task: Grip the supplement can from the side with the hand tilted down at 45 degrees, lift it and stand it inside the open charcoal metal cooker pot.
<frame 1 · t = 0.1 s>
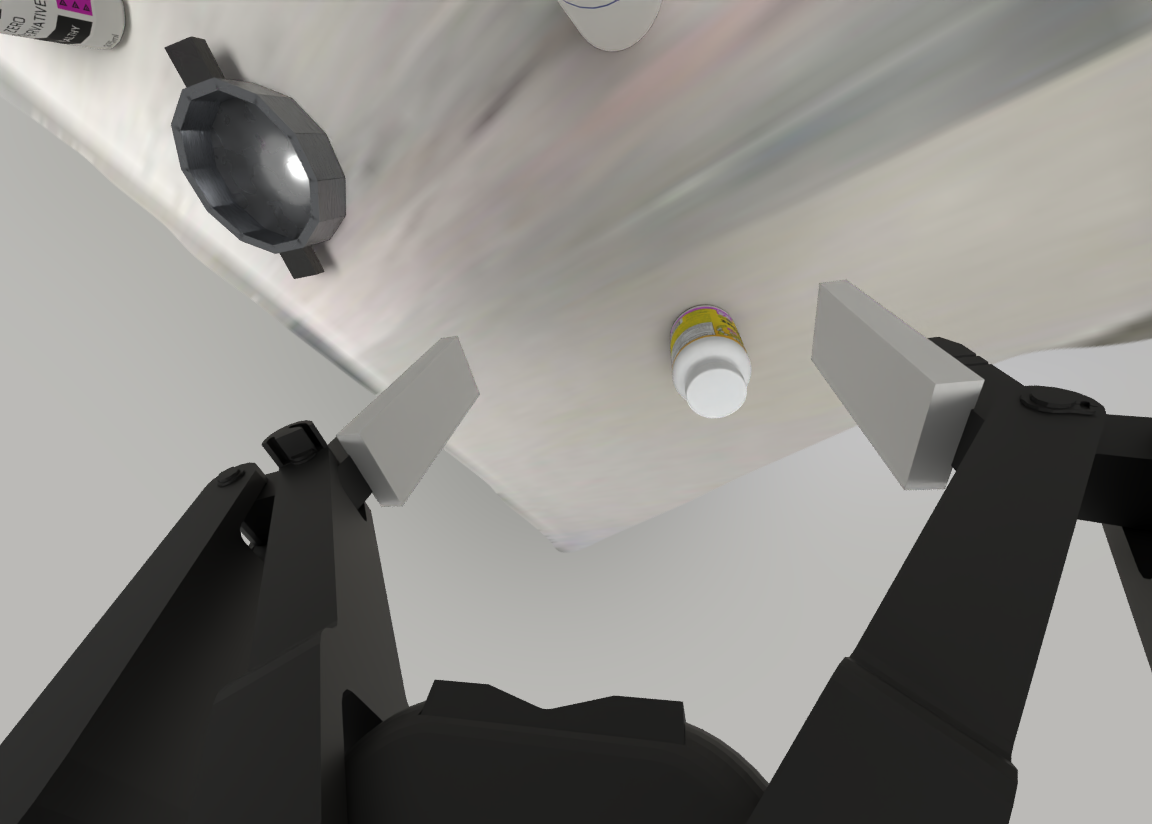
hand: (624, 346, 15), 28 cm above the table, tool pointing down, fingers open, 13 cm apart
cooker pot: (280, 172, 41), on the table
supplement bottle: (701, 332, 43), on the table
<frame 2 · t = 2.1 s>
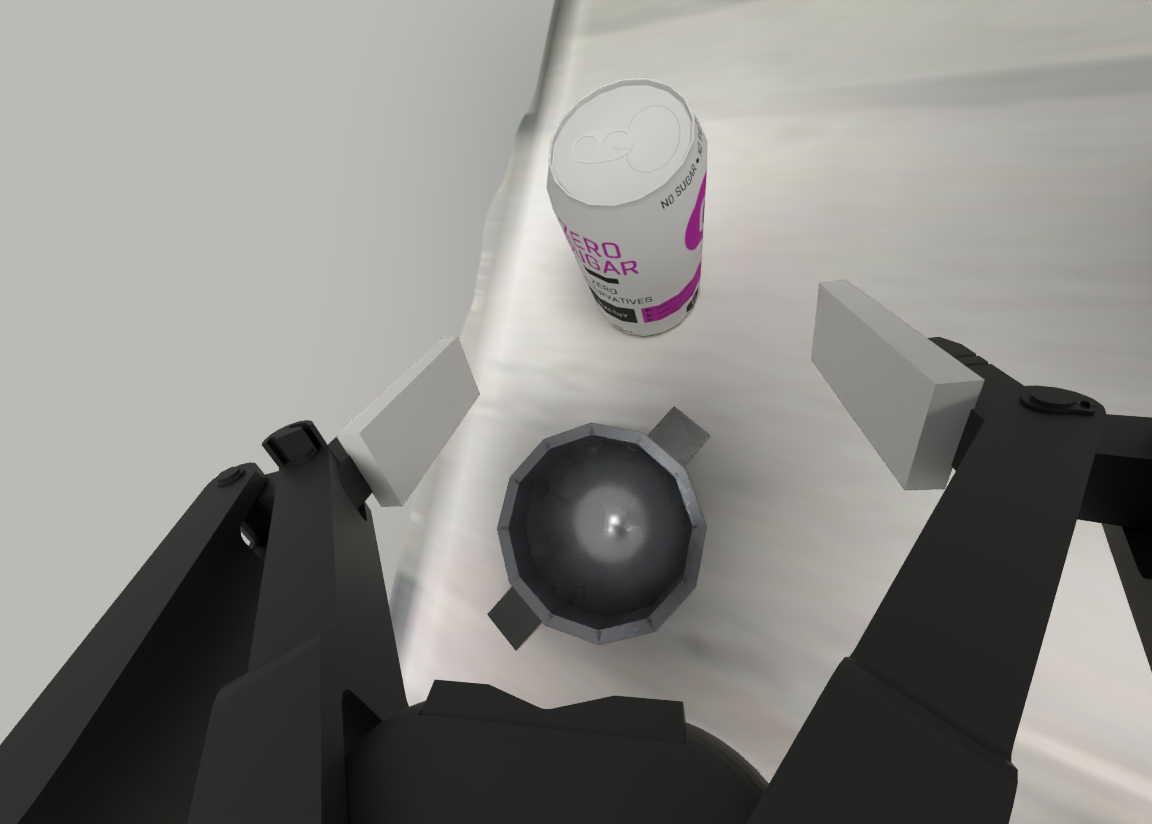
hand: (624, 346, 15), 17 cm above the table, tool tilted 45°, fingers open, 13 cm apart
cooker pot: (606, 523, 30), on the table
supplement can: (647, 293, 33), on the table
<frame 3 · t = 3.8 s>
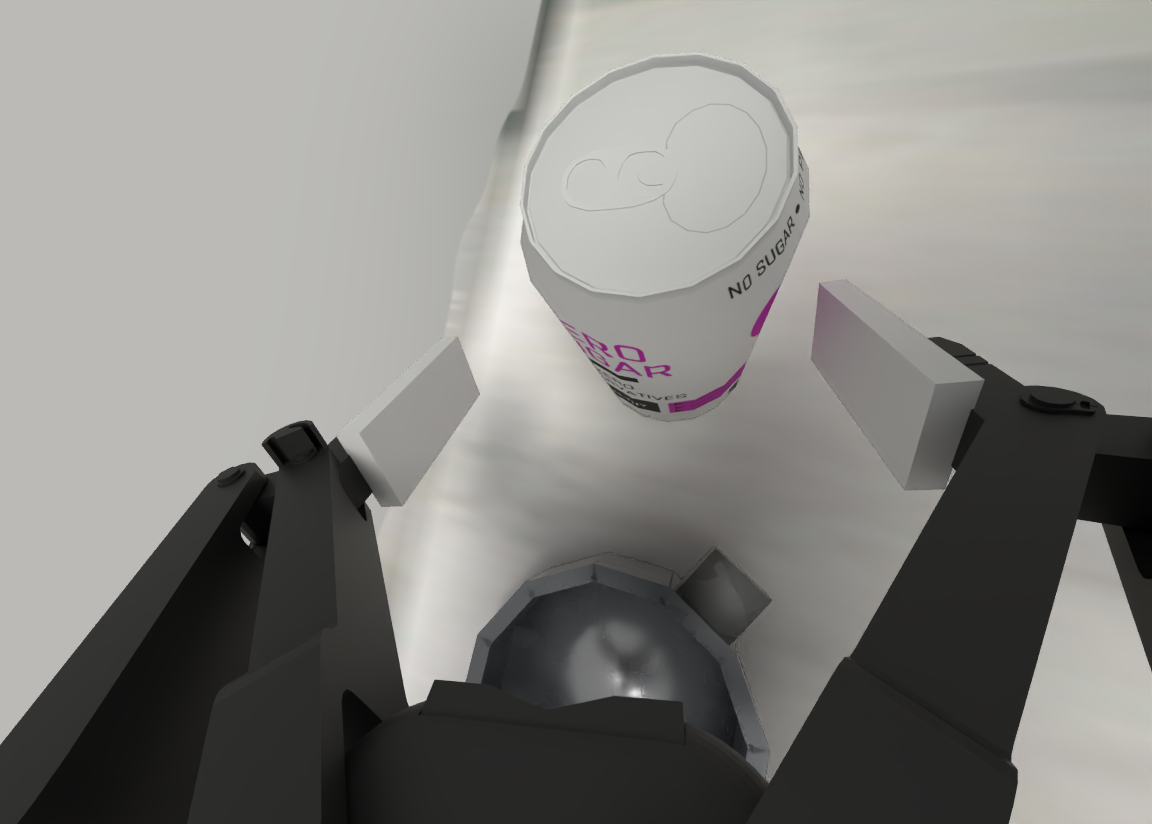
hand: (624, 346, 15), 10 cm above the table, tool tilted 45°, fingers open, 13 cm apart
cooker pot: (614, 688, 22), on the table
supplement can: (671, 357, 25), on the table
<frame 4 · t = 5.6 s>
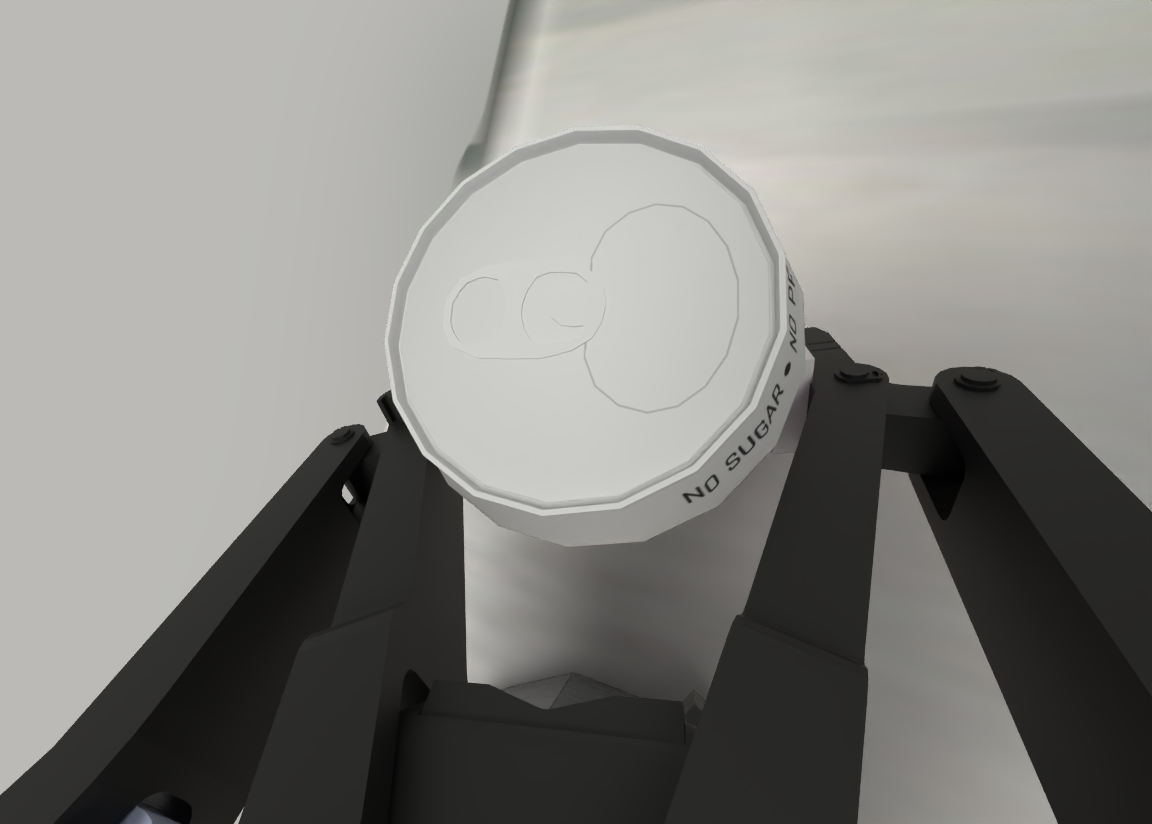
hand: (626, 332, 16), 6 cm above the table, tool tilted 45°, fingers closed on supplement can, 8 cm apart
supplement can: (645, 434, 21), on the table, touching gripper
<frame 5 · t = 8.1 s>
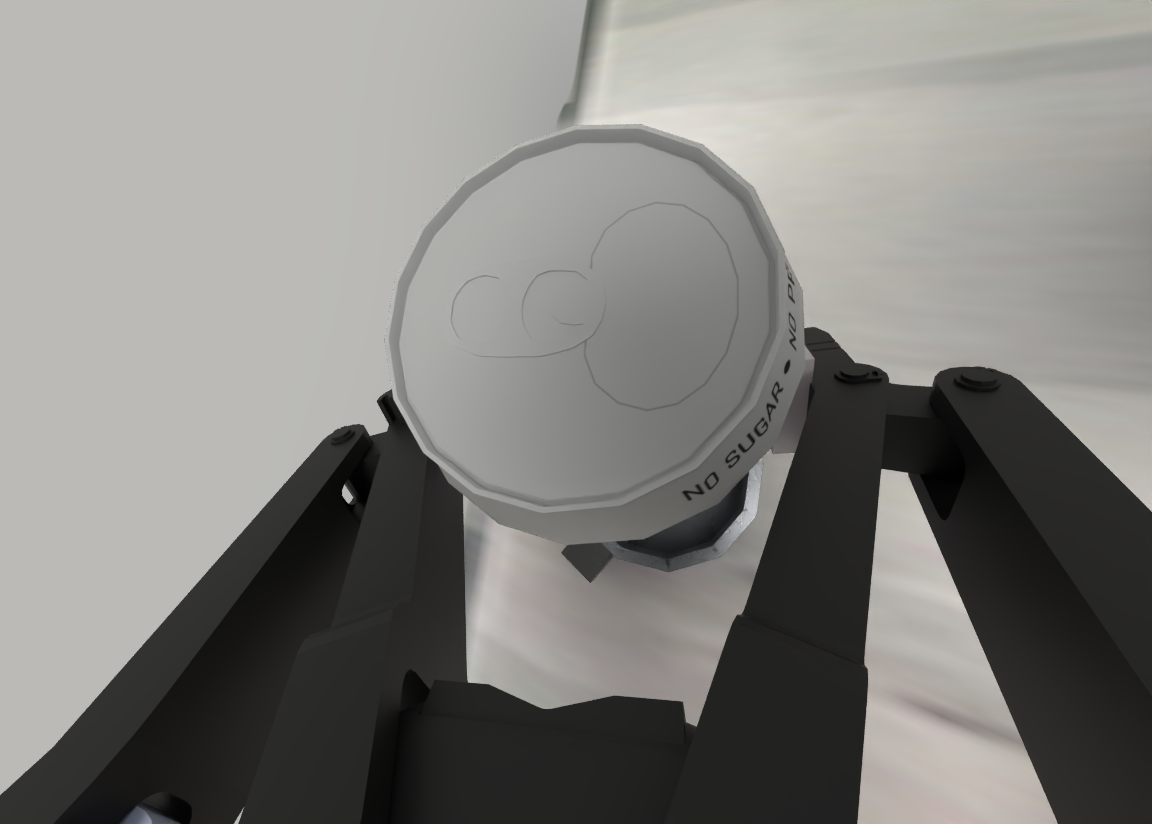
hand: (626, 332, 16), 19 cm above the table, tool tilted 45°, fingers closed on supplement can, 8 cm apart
cooker pot: (662, 472, 33), on the table
supplement can: (645, 434, 21), point 13 cm above the table, touching gripper
when the fingers open (8 cm above the table, at t = 10.7 s): supplement can drops 1 cm, resting on cooker pot.
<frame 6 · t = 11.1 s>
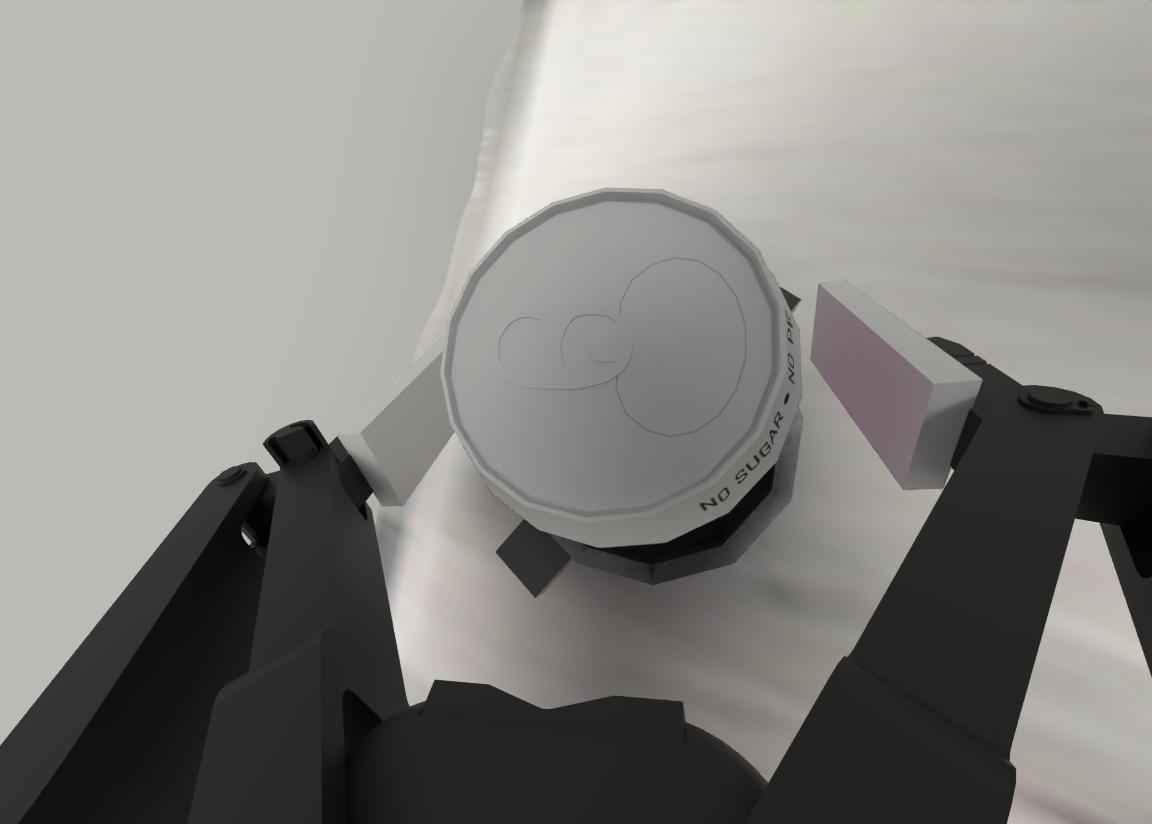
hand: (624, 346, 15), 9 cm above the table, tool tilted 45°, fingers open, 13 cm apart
cooker pot: (649, 440, 23), on the table
supplement can: (652, 439, 22), point 1 cm above the table, touching cooker pot
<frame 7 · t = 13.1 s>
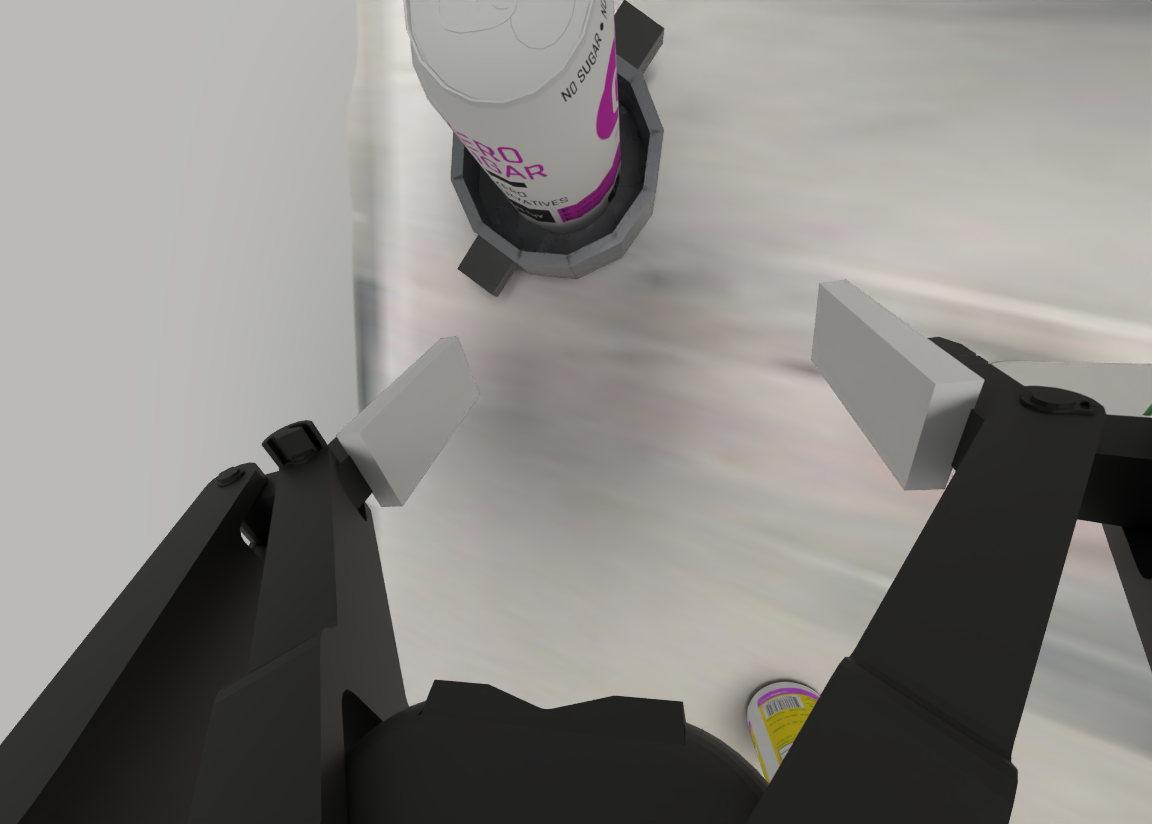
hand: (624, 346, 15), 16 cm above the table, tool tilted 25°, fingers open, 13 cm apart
cylindrical container: (1000, 411, 29), on the table
cooker pot: (562, 181, 30), on the table
supplement bottle: (785, 710, 34), on the table
supplement can: (564, 177, 29), point 1 cm above the table, touching cooker pot
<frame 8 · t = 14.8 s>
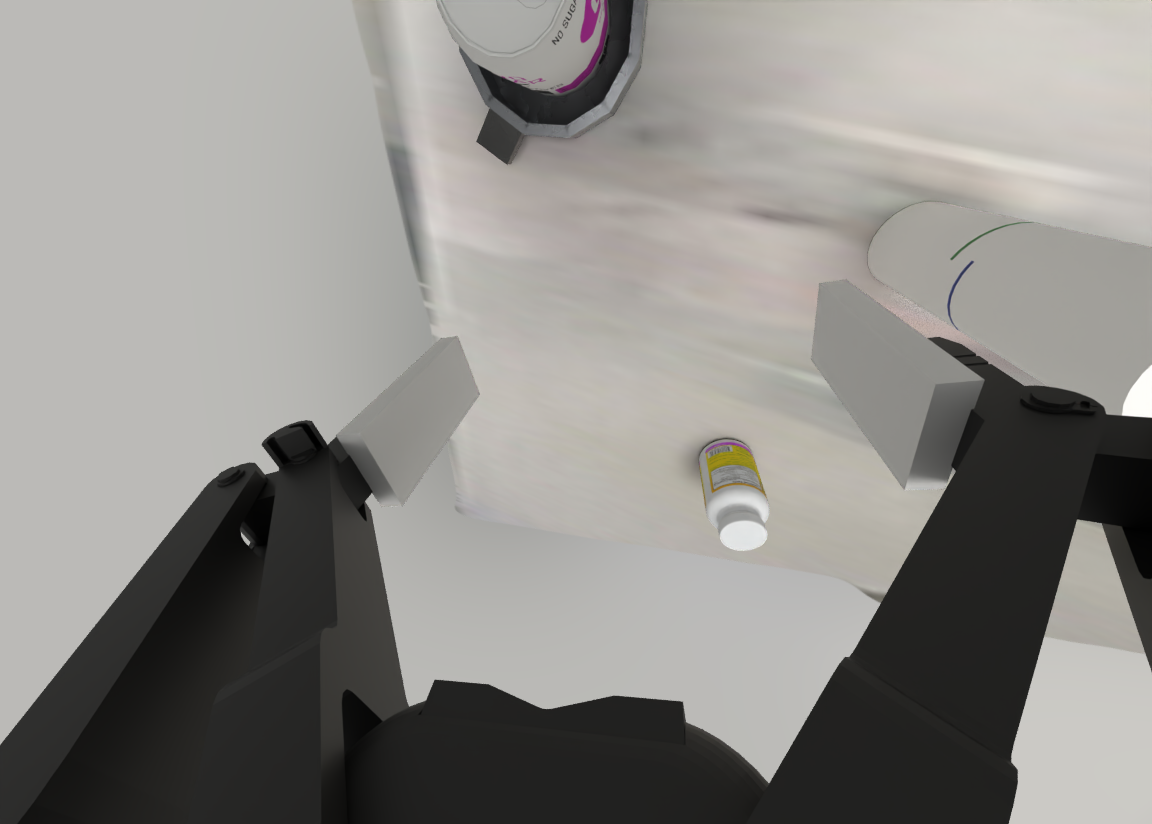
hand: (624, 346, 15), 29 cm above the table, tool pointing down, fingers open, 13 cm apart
cylindrical container: (912, 245, 36), on the table
cooker pot: (558, 33, 32), on the table
supplement bottle: (724, 456, 53), on the table
supplement can: (559, 31, 32), point 1 cm above the table, touching cooker pot
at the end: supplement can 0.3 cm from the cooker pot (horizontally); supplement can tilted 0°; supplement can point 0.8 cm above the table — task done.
